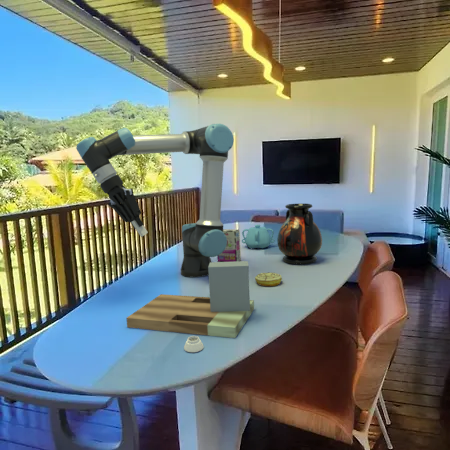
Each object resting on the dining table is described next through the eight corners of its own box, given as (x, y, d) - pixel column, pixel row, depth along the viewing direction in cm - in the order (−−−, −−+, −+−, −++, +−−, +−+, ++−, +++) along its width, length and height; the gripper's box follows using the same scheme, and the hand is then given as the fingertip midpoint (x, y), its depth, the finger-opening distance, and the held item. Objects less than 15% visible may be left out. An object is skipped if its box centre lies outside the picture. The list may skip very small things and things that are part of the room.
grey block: (212, 304, 119) (209, 262, 117) (249, 303, 118) (247, 261, 116) (210, 311, 113) (208, 267, 111) (250, 310, 112) (248, 265, 110)
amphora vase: (269, 260, 187) (267, 205, 183) (303, 254, 197) (302, 201, 193) (295, 269, 168) (294, 207, 164) (331, 262, 178) (331, 204, 174)
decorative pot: (277, 247, 217) (277, 224, 215) (254, 251, 209) (253, 227, 207) (261, 243, 231) (261, 222, 229) (239, 247, 223) (238, 224, 222)
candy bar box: (241, 261, 188) (239, 229, 186) (236, 263, 184) (235, 230, 182) (221, 259, 193) (220, 228, 191) (217, 261, 189) (215, 230, 187)
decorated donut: (272, 278, 156) (272, 269, 156) (287, 284, 147) (286, 275, 146) (250, 282, 152) (250, 273, 151) (264, 289, 142) (264, 279, 142)
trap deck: (161, 302, 132) (160, 294, 132) (254, 309, 122) (253, 300, 121) (127, 327, 112) (126, 317, 111) (235, 338, 101) (234, 327, 101)
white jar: (180, 348, 97) (190, 355, 93) (180, 338, 96) (190, 344, 92) (196, 342, 100) (207, 349, 96) (196, 332, 99) (206, 338, 95)
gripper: (91, 190, 133) (127, 244, 136) (111, 174, 125) (149, 233, 129) (106, 183, 139) (140, 236, 142) (125, 168, 131) (161, 224, 135)
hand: (144, 234), depth 136 cm, fingers closed
